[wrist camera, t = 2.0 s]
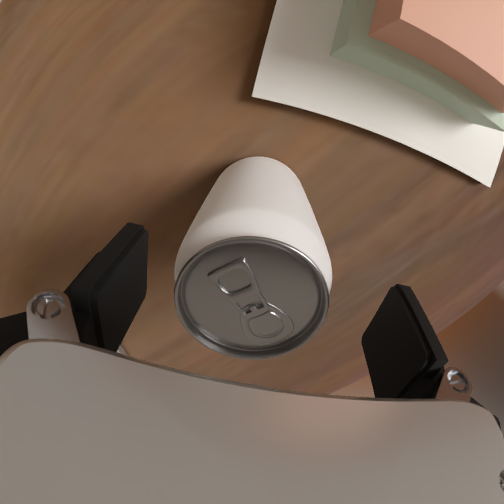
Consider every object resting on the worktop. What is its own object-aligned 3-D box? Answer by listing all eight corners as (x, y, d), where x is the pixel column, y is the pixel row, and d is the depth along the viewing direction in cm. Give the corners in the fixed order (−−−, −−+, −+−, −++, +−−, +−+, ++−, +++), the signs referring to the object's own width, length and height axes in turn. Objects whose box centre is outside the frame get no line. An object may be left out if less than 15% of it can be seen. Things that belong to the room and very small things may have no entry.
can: (241, 253, 23) (223, 381, 13) (196, 182, 21) (128, 275, 10) (318, 217, 22) (362, 333, 11) (277, 138, 19) (294, 188, 8)
